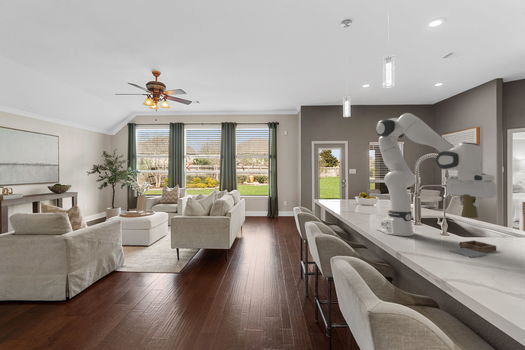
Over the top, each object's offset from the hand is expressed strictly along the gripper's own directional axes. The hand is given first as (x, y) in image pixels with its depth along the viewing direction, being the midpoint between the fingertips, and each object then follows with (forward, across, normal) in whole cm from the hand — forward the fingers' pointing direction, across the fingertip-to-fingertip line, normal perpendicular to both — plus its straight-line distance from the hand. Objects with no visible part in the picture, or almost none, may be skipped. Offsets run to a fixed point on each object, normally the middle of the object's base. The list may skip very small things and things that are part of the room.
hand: (469, 205), depth 121 cm
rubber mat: (+22, 0, -2) cm, 22 cm away
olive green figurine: (+5, 0, 0) cm, 5 cm away
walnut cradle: (+22, -3, +9) cm, 24 cm away
